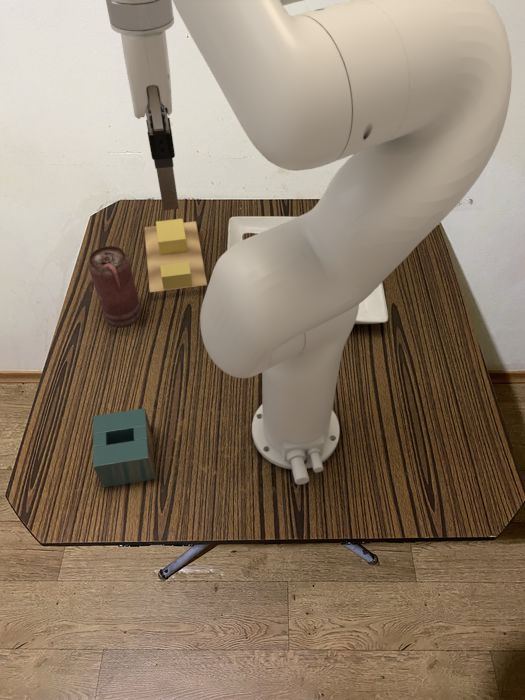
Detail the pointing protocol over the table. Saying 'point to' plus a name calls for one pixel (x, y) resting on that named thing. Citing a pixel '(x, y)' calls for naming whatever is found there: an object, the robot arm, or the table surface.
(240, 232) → the square plate
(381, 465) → the table surface
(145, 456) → the stand
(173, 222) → the butter block
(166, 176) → the knife
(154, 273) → the butter board
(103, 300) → the can
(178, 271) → the block
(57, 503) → the table surface
